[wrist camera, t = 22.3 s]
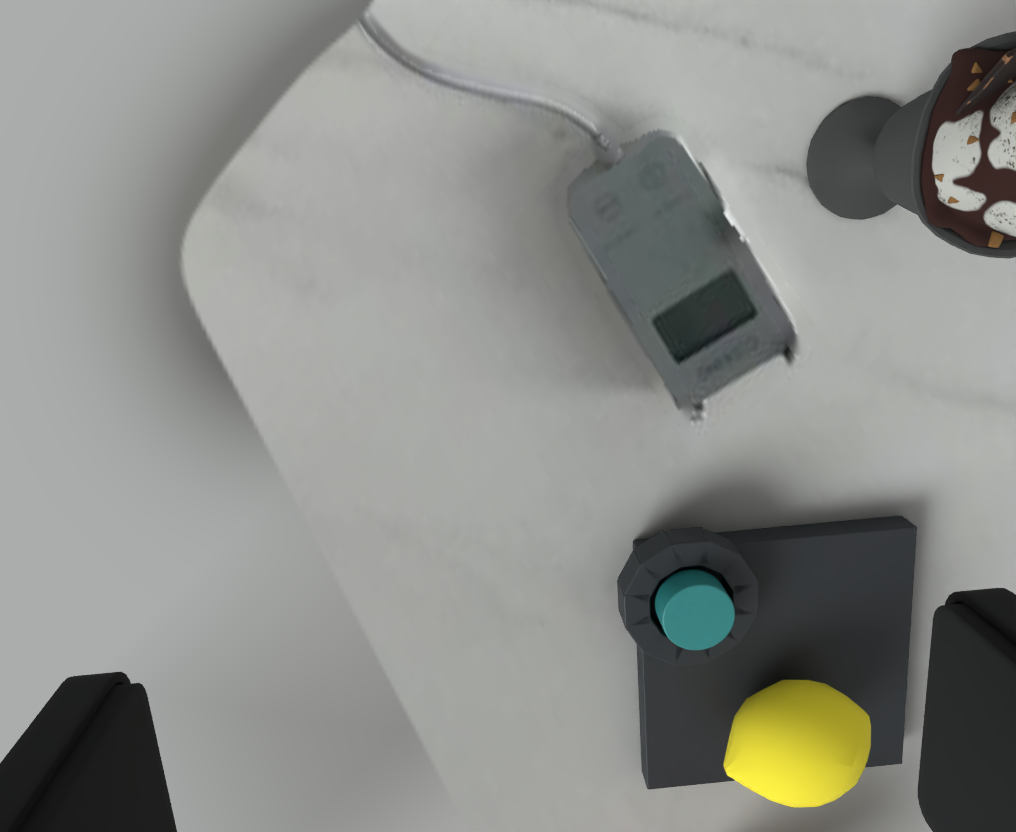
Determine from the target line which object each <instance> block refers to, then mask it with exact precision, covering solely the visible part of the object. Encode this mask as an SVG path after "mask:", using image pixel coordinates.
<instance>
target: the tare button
mask: <svg viewBox="0 0 1016 832" xmlns="http://www.w3.org/2000/svg"><path fill="white" fill-rule="evenodd" d="M655 610H656V614H657V616H658V618H659V620H660V623H661V625H662V627H663V629H664V632H665V634H666V635H667V637H668V638H669V639H670V640H671V641H672V642H673V643H674V644H676V645H677V646H679V647H681V648H684V649H688V650H703V649H707V648H710V647H713V646H715V645H716V644H718V643H719V642H721V641H722V640H723V639H724V638H725V637H726V636H727V635H728V633H729V632H730V630H731V628H732V626H733V623H734V619H735V609H734V605H733V602H732V600H731V599H730V597H729V595H728V594H727V592H726V591H725V589H724V588H723V586H722V584H721V583H720V582H719V580H718V579H717V578H716V577H715V576H713V575H712V574H710V573H708V572H705V571H702V570H696V569H689V570H683V571H680V572H677V573H675V574H673V575H672V576H670V577H669V578H668V579H666V580H665V581H664V582H663V584H662V585H661V586H660V588H659V590H658V592H657V595H656V599H655Z"/></svg>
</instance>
